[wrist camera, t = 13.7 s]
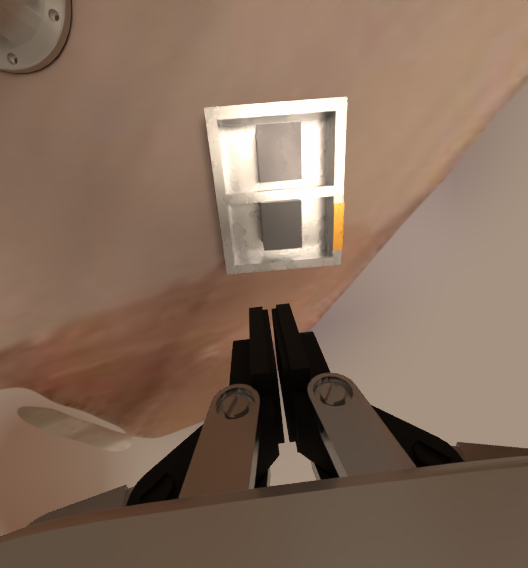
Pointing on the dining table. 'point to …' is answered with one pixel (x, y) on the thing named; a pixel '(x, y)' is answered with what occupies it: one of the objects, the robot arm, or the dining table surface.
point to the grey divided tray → (279, 178)
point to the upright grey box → (281, 224)
